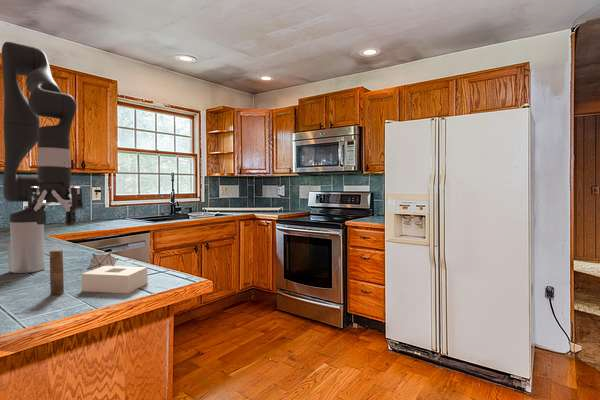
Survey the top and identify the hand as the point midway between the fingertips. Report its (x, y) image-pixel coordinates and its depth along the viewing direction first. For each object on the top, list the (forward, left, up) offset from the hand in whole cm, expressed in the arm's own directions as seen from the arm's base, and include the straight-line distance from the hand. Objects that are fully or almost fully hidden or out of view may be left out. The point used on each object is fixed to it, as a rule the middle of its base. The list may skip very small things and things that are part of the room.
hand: (55, 224), depth 95 cm
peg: (0, 0, -19) cm, 19 cm away
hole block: (+12, +8, -19) cm, 24 cm away
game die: (0, +19, -20) cm, 27 cm away
